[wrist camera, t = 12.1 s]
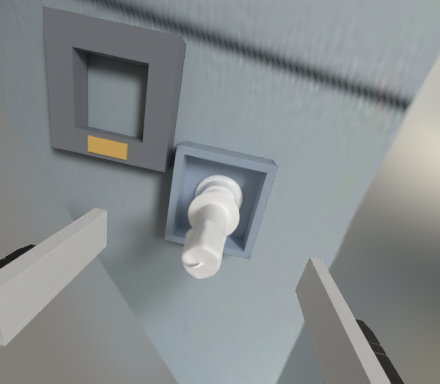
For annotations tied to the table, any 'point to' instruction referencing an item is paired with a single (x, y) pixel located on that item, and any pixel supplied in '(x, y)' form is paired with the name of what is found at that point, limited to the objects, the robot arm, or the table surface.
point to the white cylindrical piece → (210, 224)
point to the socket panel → (78, 86)
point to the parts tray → (228, 166)
